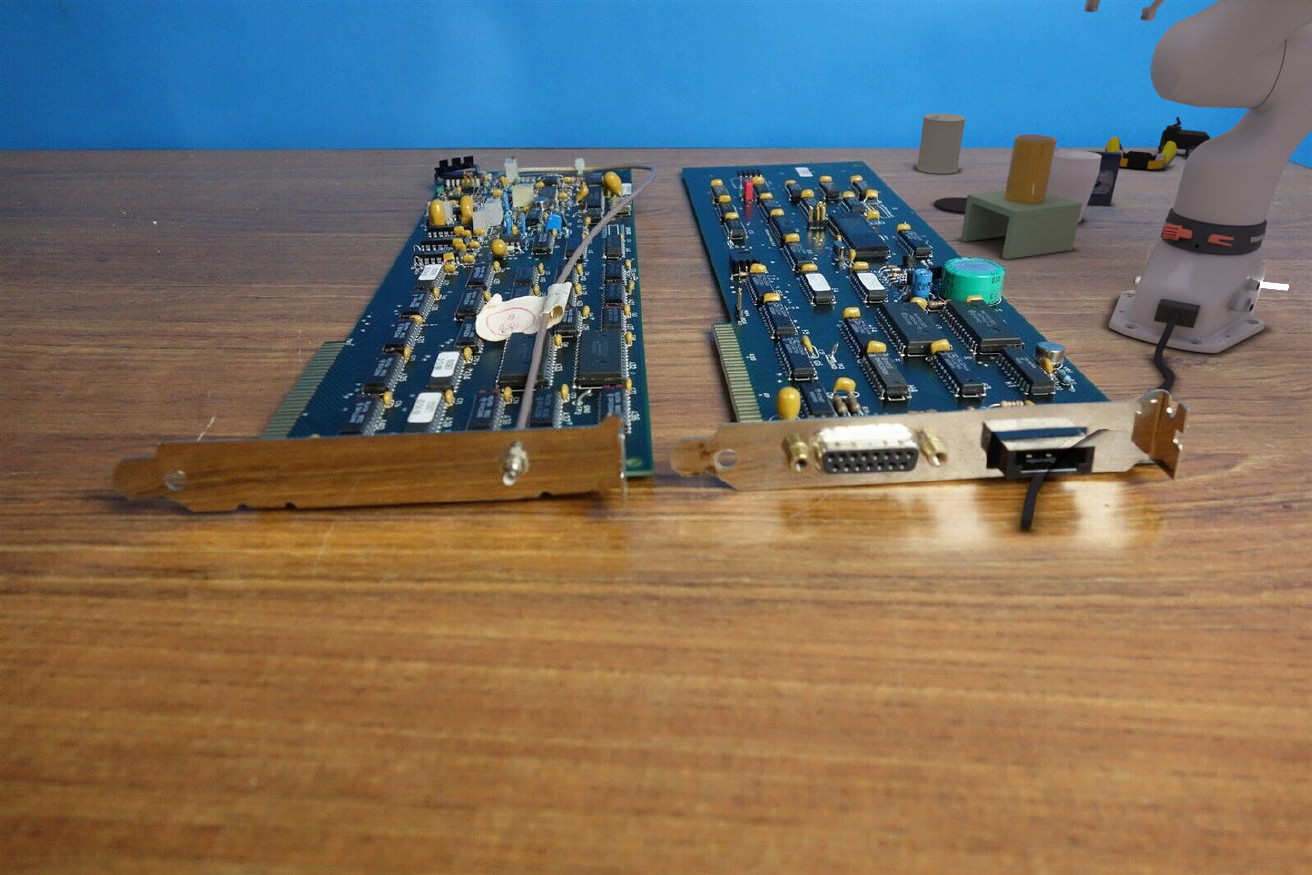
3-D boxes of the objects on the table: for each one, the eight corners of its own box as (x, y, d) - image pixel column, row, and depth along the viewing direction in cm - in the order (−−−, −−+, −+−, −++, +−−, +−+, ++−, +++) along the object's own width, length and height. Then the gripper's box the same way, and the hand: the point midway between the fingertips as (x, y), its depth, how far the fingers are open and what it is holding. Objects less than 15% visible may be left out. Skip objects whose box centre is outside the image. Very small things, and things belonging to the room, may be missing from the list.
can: (907, 167, 215) (914, 113, 210) (939, 163, 219) (947, 110, 213) (934, 175, 208) (942, 119, 202) (966, 171, 211) (975, 116, 206)
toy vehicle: (1161, 150, 234) (1170, 113, 229) (1228, 157, 226) (1239, 120, 222) (1154, 155, 228) (1164, 118, 224) (1223, 163, 220) (1234, 125, 216)
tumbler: (1035, 205, 154) (1048, 143, 150) (997, 199, 158) (1008, 138, 153) (1050, 198, 159) (1063, 137, 154) (1013, 192, 162) (1024, 132, 158)
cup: (1092, 227, 172) (1107, 161, 166) (1040, 224, 174) (1054, 158, 168) (1082, 214, 180) (1096, 150, 174) (1033, 211, 182) (1046, 148, 176)
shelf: (1023, 231, 170) (1031, 187, 166) (1072, 250, 160) (1082, 203, 156) (960, 239, 165) (967, 194, 161) (1006, 259, 155) (1015, 211, 151)
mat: (977, 217, 178) (978, 214, 178) (924, 207, 184) (925, 204, 184) (1001, 206, 185) (1002, 203, 185) (949, 197, 191) (950, 194, 191)
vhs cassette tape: (1013, 200, 189) (1023, 150, 184) (1012, 197, 192) (1021, 147, 187) (1111, 206, 185) (1123, 155, 180) (1108, 202, 188) (1120, 152, 183)
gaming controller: (1103, 158, 224) (1100, 167, 217) (1108, 135, 222) (1106, 142, 214) (1172, 165, 219) (1172, 173, 211) (1178, 140, 216) (1178, 148, 208)
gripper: (1069, -86, 147) (1048, 9, 155) (1200, -75, 134) (1171, 28, 142) (1089, -89, 151) (1068, 4, 159) (1219, -79, 138) (1190, 22, 146)
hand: (1118, 15), depth 150 cm, fingers open, 8 cm apart
